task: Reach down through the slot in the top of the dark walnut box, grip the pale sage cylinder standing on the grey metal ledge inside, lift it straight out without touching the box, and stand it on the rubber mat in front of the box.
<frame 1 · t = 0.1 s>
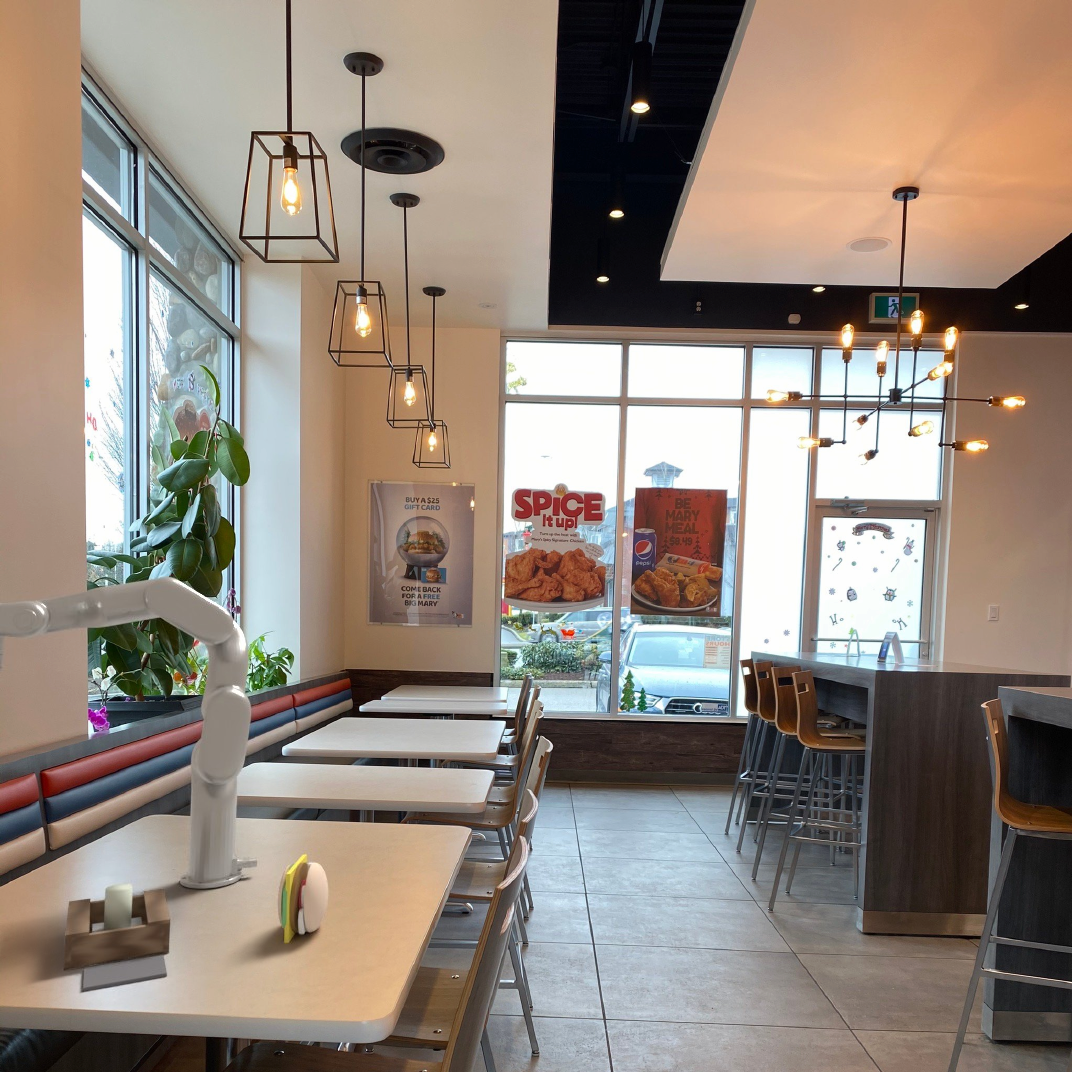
rubber mat: (125, 973, 138), on the table
hamburger: (303, 931, 157), on the table
sage cylinder: (117, 927, 151), point 2 cm above the table, touching walnut box
walnut box: (116, 942, 151), on the table
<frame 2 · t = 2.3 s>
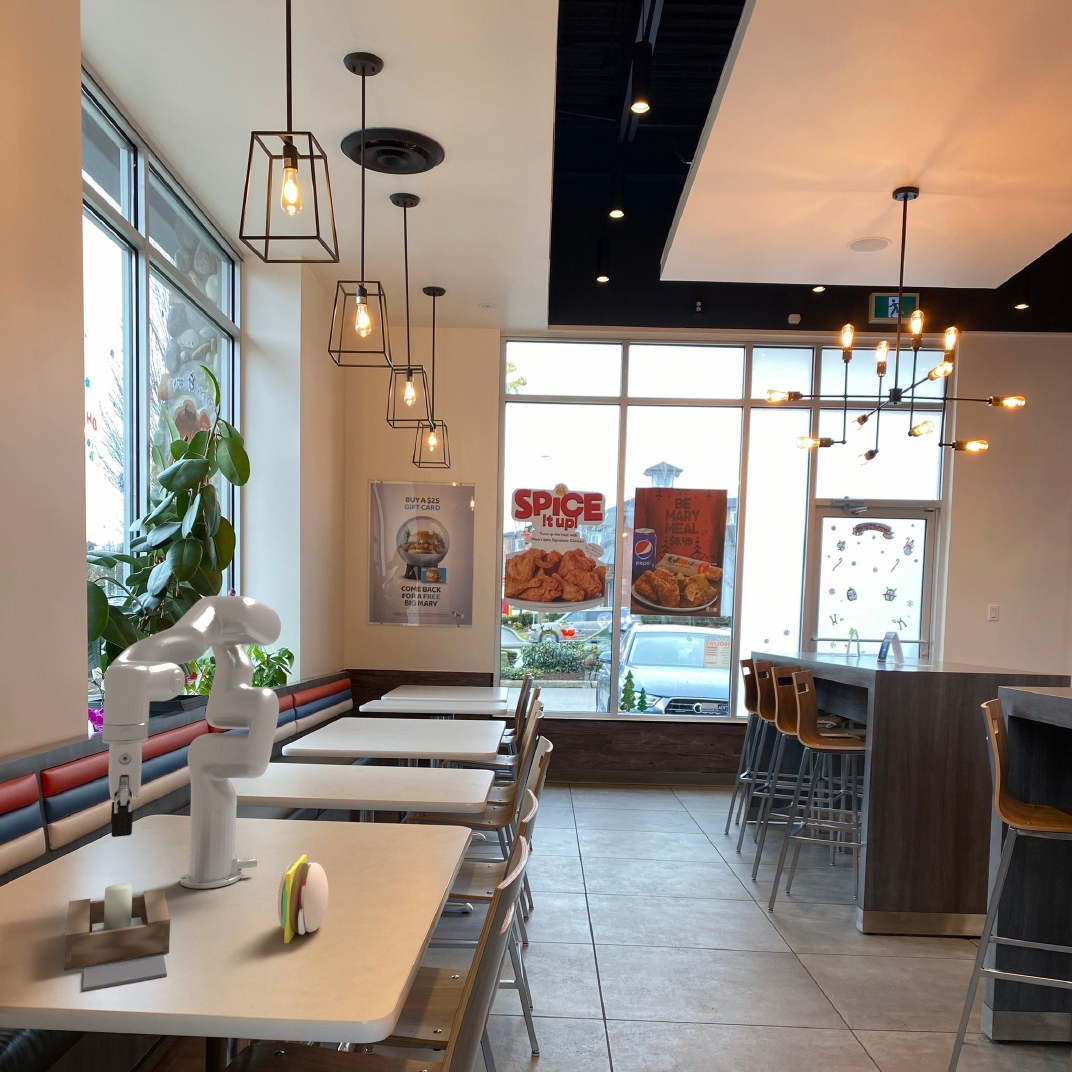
hand: (121, 829, 152), 20 cm above the table, tool pointing down, fingers open, 9 cm apart
nothing on the table moved.
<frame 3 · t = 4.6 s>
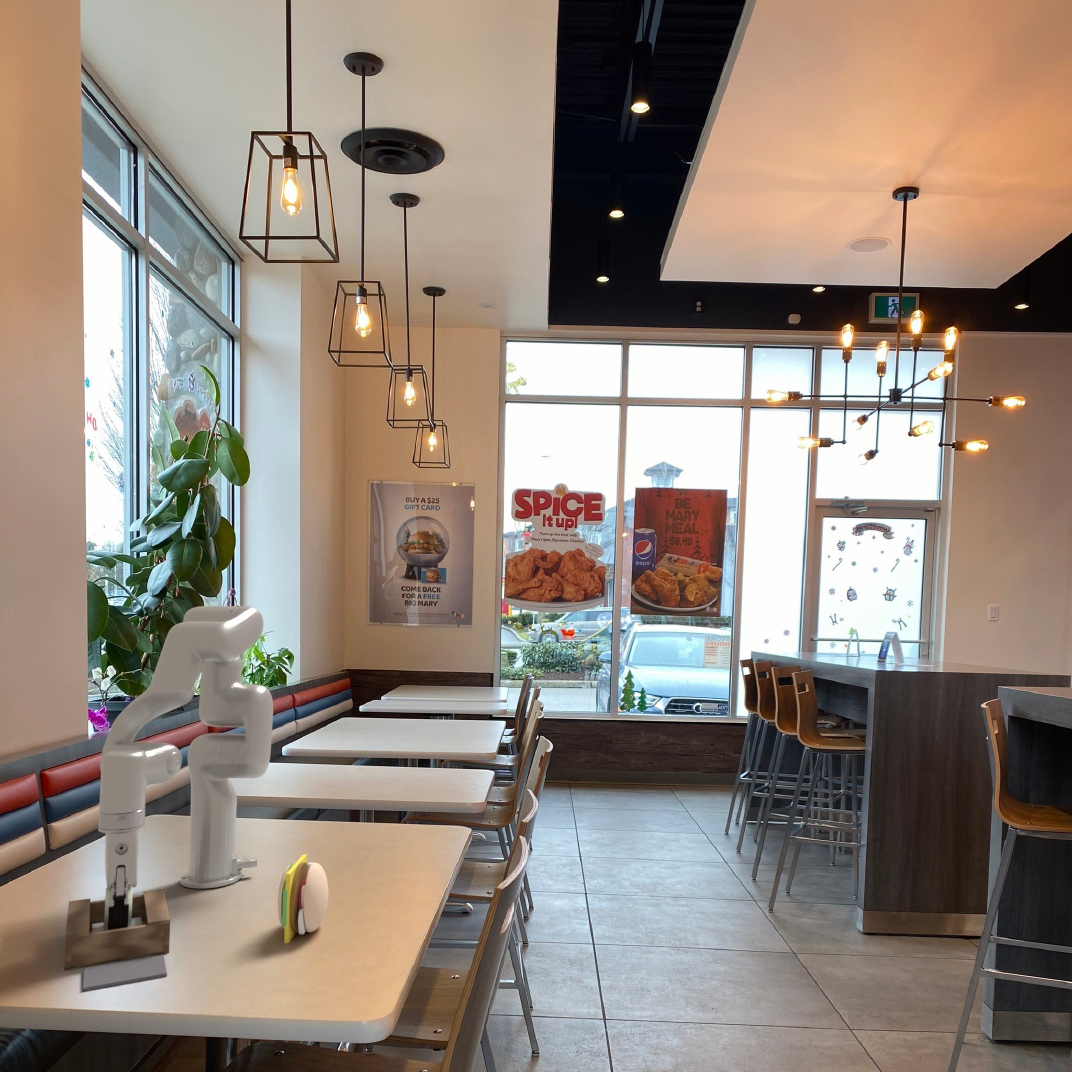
hand: (117, 923, 151), 3 cm above the table, tool pointing down, fingers closed on sage cylinder, 4 cm apart
sage cylinder: (117, 927, 151), point 3 cm above the table, touching gripper, walnut box
everything else where it was.
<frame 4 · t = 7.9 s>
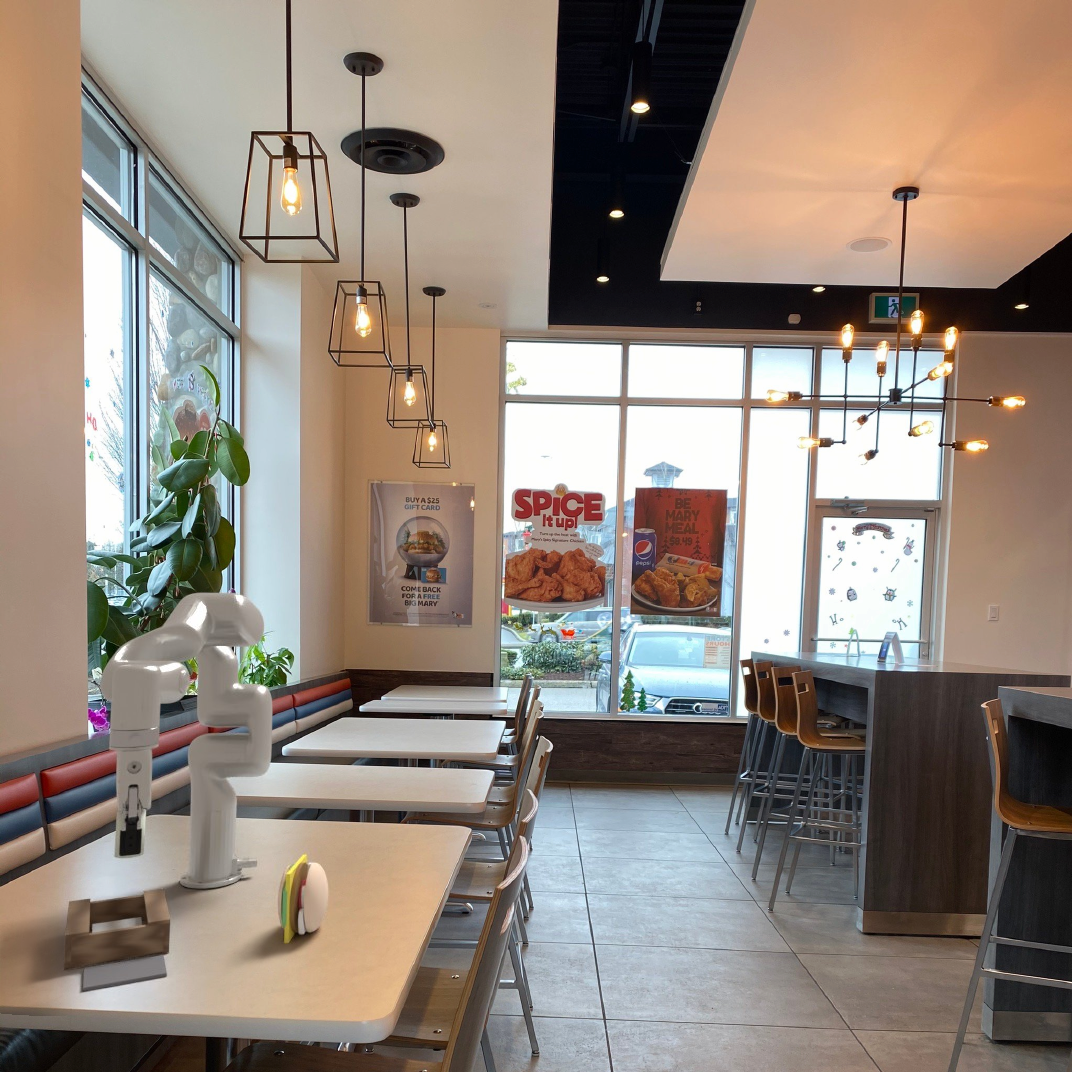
hand: (129, 849, 140), 20 cm above the table, tool pointing down, fingers closed on sage cylinder, 4 cm apart
sage cylinder: (129, 854, 140), point 19 cm above the table, touching gripper
everything else where it was.
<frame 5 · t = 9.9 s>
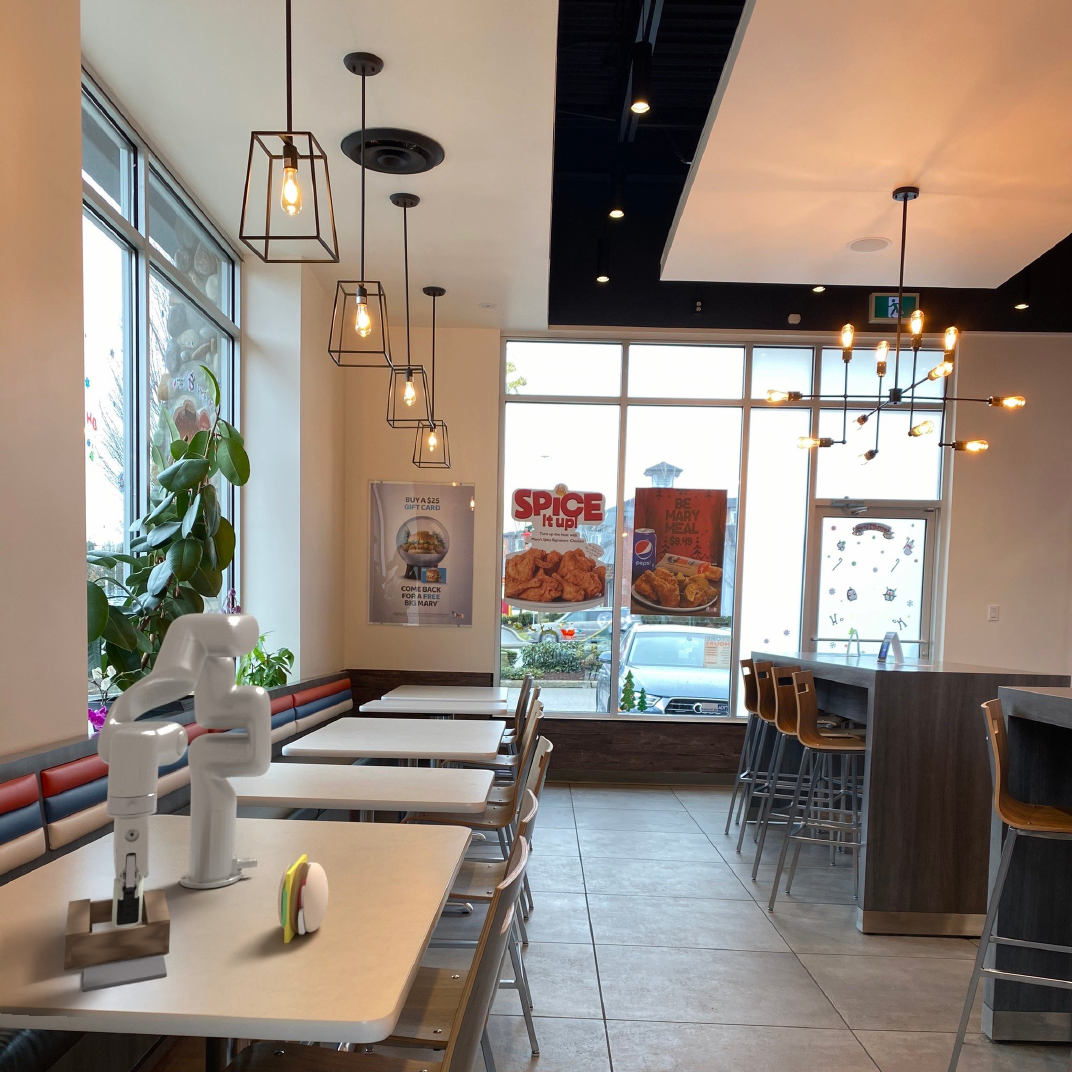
hand: (127, 917, 139), 9 cm above the table, tool pointing down, fingers closed on sage cylinder, 4 cm apart
sage cylinder: (126, 922, 138), point 8 cm above the table, touching gripper
everything else where it was.
when the fingers open (3 cm above the table, at t = 11.4 s): sage cylinder drops 2 cm, resting on rubber mat.
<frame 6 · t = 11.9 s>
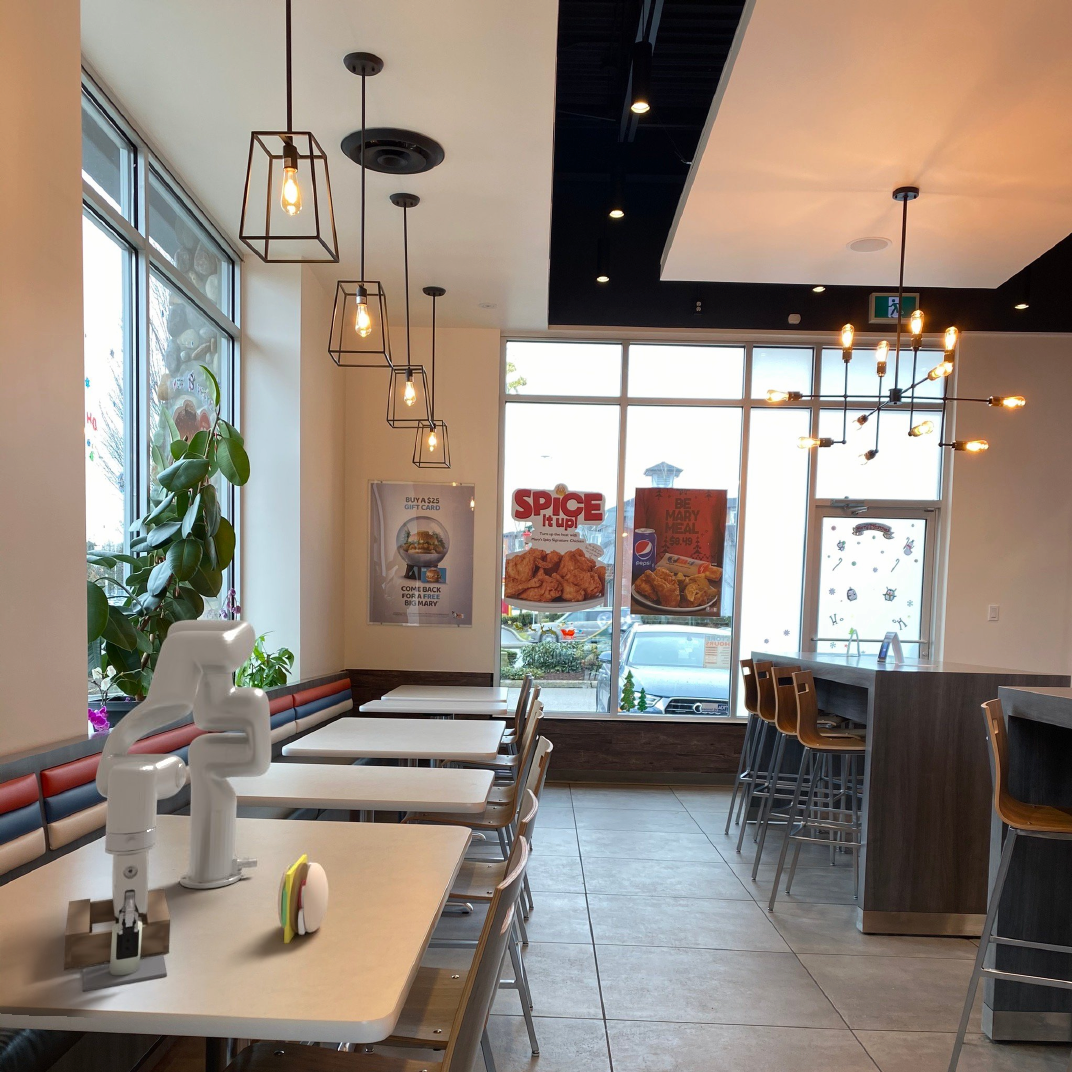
hand: (126, 946, 138), 4 cm above the table, tool pointing down, fingers open, 9 cm apart
sage cylinder: (124, 969, 138), point 1 cm above the table, touching rubber mat
everything else where it was.
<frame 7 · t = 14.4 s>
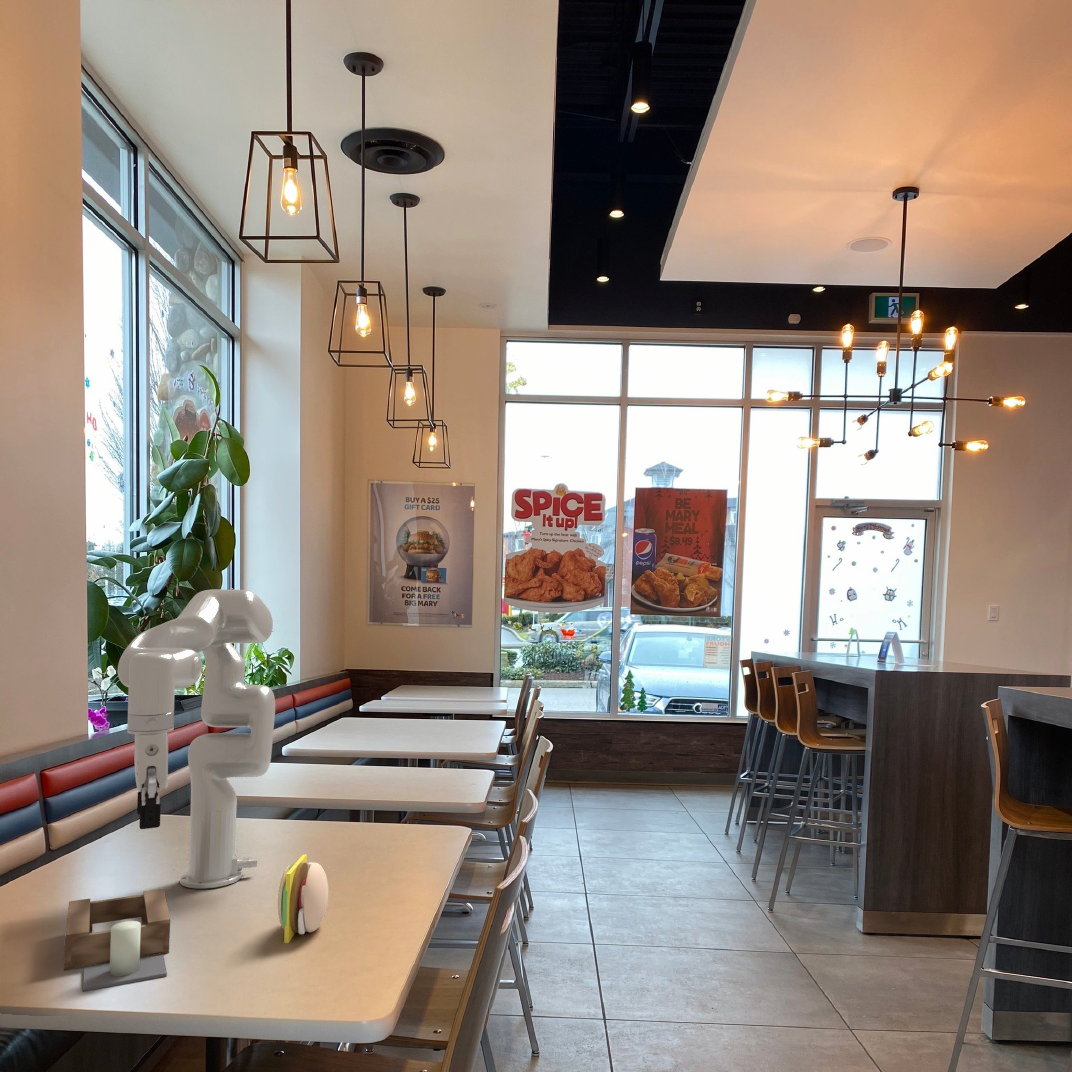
hand: (148, 820, 149), 22 cm above the table, tool pointing down, fingers open, 9 cm apart
nothing on the table moved.
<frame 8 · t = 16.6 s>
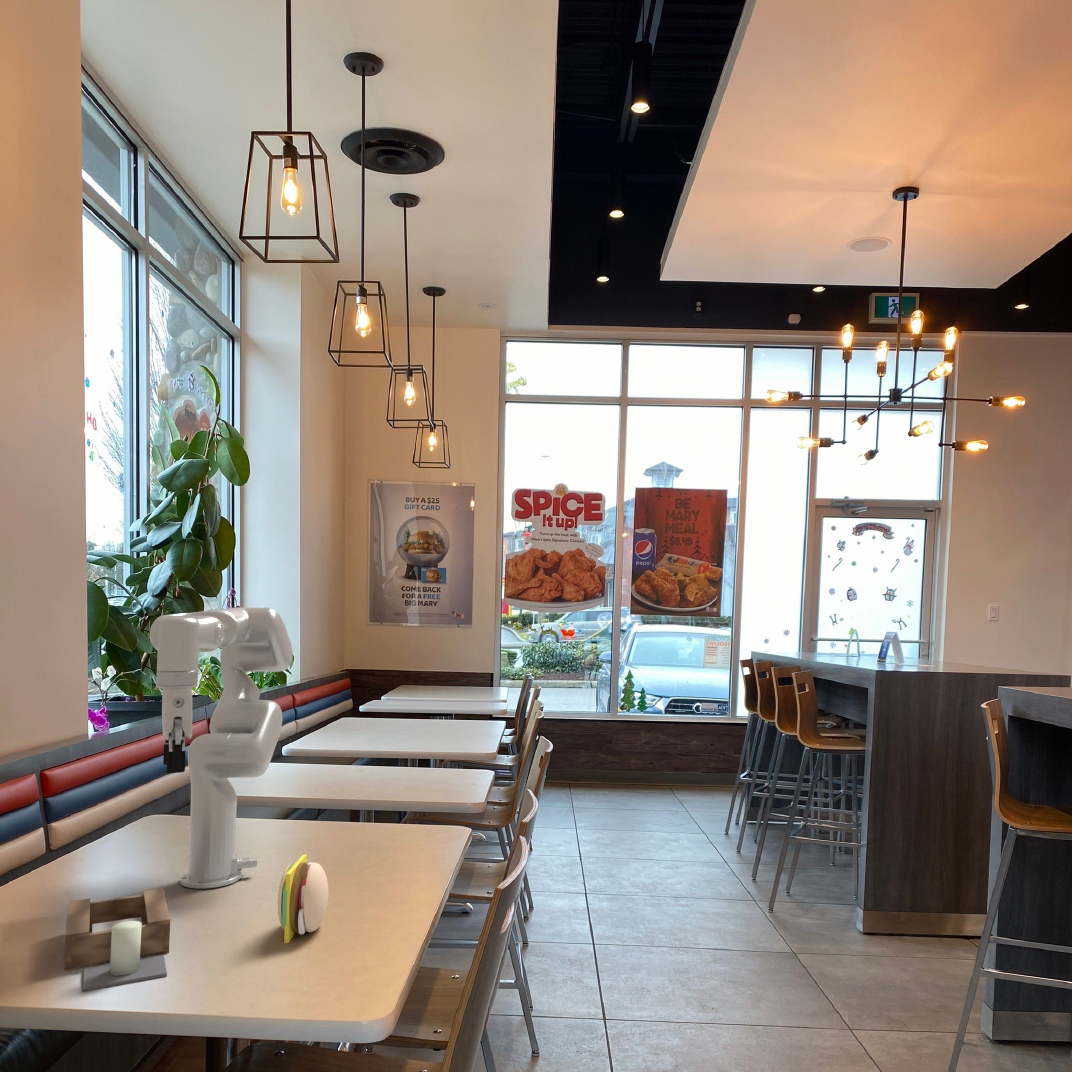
hand: (173, 768, 165), 28 cm above the table, tool pointing down, fingers open, 9 cm apart
nothing on the table moved.
at the end: sage cylinder inside the target area on the rubber mat (0.2 cm from its centre), point 0.5 cm above the rubber mat's base; sage cylinder tilted 1°; the gripper is holding nothing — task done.
